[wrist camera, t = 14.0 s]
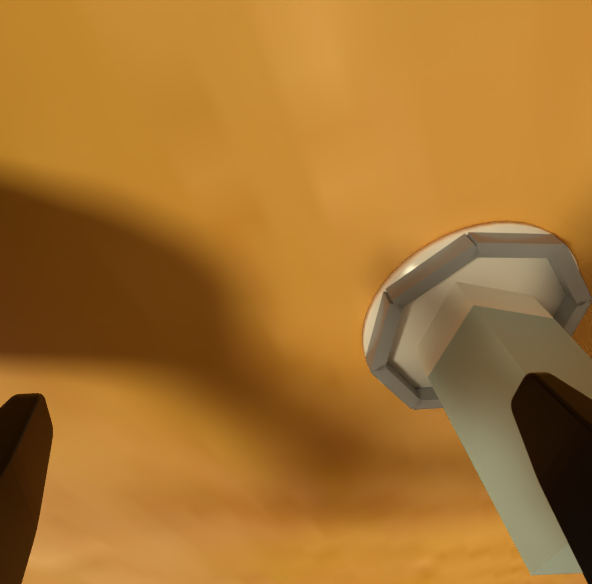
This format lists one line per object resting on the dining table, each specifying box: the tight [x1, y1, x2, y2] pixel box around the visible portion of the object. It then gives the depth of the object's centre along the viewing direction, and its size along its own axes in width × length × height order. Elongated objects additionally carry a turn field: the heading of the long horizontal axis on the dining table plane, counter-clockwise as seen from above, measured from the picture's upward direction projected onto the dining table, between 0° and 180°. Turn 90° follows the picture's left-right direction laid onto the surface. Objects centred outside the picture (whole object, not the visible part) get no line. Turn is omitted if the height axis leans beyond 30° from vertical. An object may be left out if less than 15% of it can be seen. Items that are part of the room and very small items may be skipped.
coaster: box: [362, 221, 592, 410], centre depth 26 cm, size 12×12×2 cm
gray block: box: [414, 282, 592, 575], centre depth 22 cm, size 5×5×12 cm
